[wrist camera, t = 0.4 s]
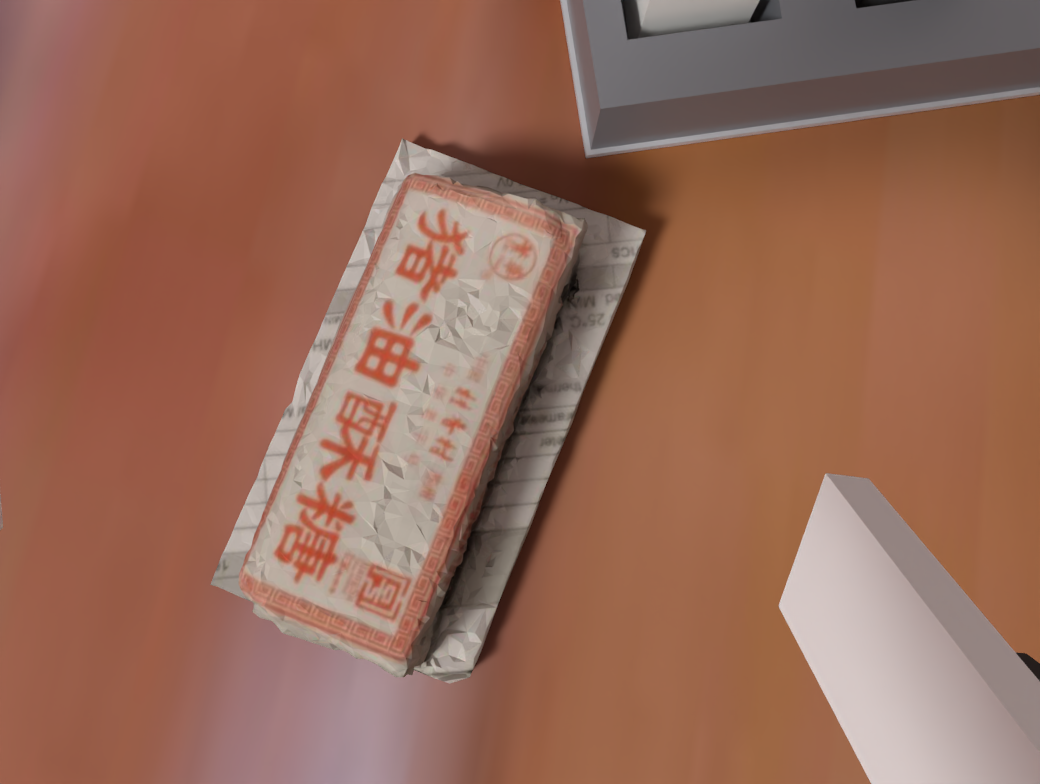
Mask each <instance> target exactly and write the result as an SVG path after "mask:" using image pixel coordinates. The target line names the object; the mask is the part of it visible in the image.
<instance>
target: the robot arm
mask: <svg viewBox="0 0 1040 784" xmlns="http://www.w3.org/2000/svg"><path fill="white" fill-rule="evenodd" d="M2 528H3V523H2V509H1V496H0V530H1V529H2ZM779 608H780V610H781V612H782V614H783V616H784V618H785V620H786V622H787V624H788V625H789V627H790V629H791V631H792V633H793V635H794V637H795V639H796V641H797V643H798V645H799V646H800V648H801V650H802V652H803V654H804V656H805V658H806V660H807V662H808V664H809V666H810V667H811V669H812V671H813V673H814V675H815V677H816V679H817V681H818V683H819V685H820V687H821V689H822V690H823V692H824V694H825V696H826V698H827V700H828V702H829V704H830V706H831V708H832V710H833V711H834V713H835V715H836V717H837V719H838V721H839V723H840V725H841V727H842V729H843V731H844V732H845V734H846V736H847V738H848V740H849V742H850V744H851V746H852V748H853V750H854V752H855V753H856V755H857V757H858V759H859V761H860V763H861V765H862V767H863V769H864V771H865V773H866V774H867V776H868V778H869V780H870V782H871V784H1040V664H1039V663H1038V662H1037V661H1035V660H1034V659H1033V658H1031V657H1030V656H1029V655H1028V654H1025V653H1015V651H1014V650H1013V649H1012V648H1011V647H1010V645H1009V644H1008V643H1007V642H1006V641H1005V640H1004V638H1003V637H1002V636H1001V635H1000V634H999V632H998V631H997V630H996V629H995V628H994V627H993V625H992V624H991V623H990V622H989V621H988V619H987V618H986V617H985V616H984V615H983V614H982V612H981V611H980V610H979V609H978V608H977V606H976V605H975V604H974V603H973V602H972V600H971V599H970V598H969V597H968V596H967V595H966V593H965V592H964V591H963V590H962V589H961V587H960V586H959V585H958V584H957V583H956V582H955V580H954V579H953V578H952V577H951V576H950V574H949V573H948V572H947V571H946V570H945V569H944V567H943V566H942V565H941V564H940V563H939V561H938V560H937V559H936V558H935V557H934V555H933V554H932V553H931V552H930V551H929V550H928V548H927V547H926V546H925V545H924V544H923V542H922V541H921V540H920V539H919V538H918V537H917V535H916V534H915V533H914V532H913V531H912V529H911V528H910V527H909V526H908V525H907V524H906V522H905V521H904V520H903V519H902V518H901V516H900V515H899V514H898V513H897V512H896V510H895V509H894V508H893V507H892V506H891V505H890V503H889V502H888V501H887V500H886V499H885V497H884V496H883V495H882V494H881V493H880V492H879V490H878V489H877V488H876V487H875V486H874V484H873V483H872V482H871V481H870V480H869V479H868V478H860V477H852V476H844V475H836V474H828V473H826V474H825V477H824V479H823V482H822V485H821V488H820V491H819V494H818V496H817V499H816V502H815V505H814V508H813V510H812V513H811V516H810V519H809V522H808V524H807V527H806V530H805V533H804V536H803V539H802V541H801V544H800V547H799V550H798V553H797V555H796V558H795V561H794V564H793V567H792V569H791V572H790V575H789V578H788V581H787V584H786V586H785V589H784V592H783V595H782V598H781V600H780V603H779Z"/></svg>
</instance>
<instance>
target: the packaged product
mask: <svg viewBox="0 0 1040 784" xmlns="http://www.w3.org/2000/svg"><path fill="white" fill-rule="evenodd" d="M645 233H646V230H643V229H640V228H637V227H635V226H632V225H630V224H628V223H625V222H623V221H620V220H618V219H615V218H613V217H610V216H608V215H605V214H601V213H598V212H595V211H592V210H589V209H587V208H585V207H582V206H580V205H578V204H576V203H573V202H570V201H567V200H564V199H562V198H559V197H556V196H553V195H550V194H548V193H545V192H542V191H539V190H536V189H533V188H530V187H527V186H525V185H522V184H519V183H517V182H514V181H512V180H510V179H507V178H505V177H502V176H499V175H496V174H494V173H491V172H489V171H486V170H484V169H481V168H479V167H476V166H474V165H471V164H469V163H466V162H463V161H461V160H458V159H455V158H452V157H450V156H447V155H444V154H442V153H439V152H437V151H434V150H432V149H425V148H423V147H421V146H418V145H416V144H413V143H411V142H409V141H406V140H404V139H403V138H402V140H401V143H400V146H399V148H398V151H397V153H396V155H395V158H394V160H393V162H392V164H391V167H390V169H389V171H388V174H387V176H386V178H385V179H384V181H383V183H382V185H381V187H380V189H379V192H378V194H377V197H376V199H375V201H374V204H373V206H372V208H371V211H370V214H369V217H368V219H367V223H366V226H365V228H364V230H363V232H362V234H361V236H360V238H359V241H358V243H357V245H356V247H355V249H354V252H353V254H352V256H351V258H350V261H349V263H348V265H347V267H346V270H345V272H344V274H343V277H342V279H341V281H340V283H339V286H338V288H337V290H336V293H335V295H334V297H333V299H332V302H331V304H330V306H329V309H328V311H327V313H326V316H325V318H324V320H323V323H322V325H321V328H320V330H319V332H318V335H317V337H316V339H315V341H314V343H313V345H312V347H311V349H310V352H309V354H308V356H307V359H306V361H305V363H304V366H303V368H302V370H301V373H300V375H299V379H298V382H297V385H296V389H295V393H294V398H293V402H292V403H291V404H290V405H289V406H288V407H287V408H286V409H285V411H284V414H283V416H282V419H281V421H280V423H279V426H278V428H277V430H276V433H275V435H274V437H273V439H272V441H271V443H270V445H269V448H268V450H267V453H266V455H265V458H264V460H263V463H262V465H261V468H260V471H259V474H258V477H257V479H256V481H255V483H254V485H253V487H252V489H251V491H250V493H249V496H248V498H247V500H246V502H245V504H244V507H243V509H242V511H241V513H240V516H239V518H238V520H237V522H236V525H235V527H234V530H233V532H232V535H231V537H230V539H229V542H228V544H227V546H226V548H225V550H224V552H223V554H222V557H221V559H220V562H219V564H218V567H217V569H216V572H215V574H214V577H213V580H212V582H211V585H214V586H217V587H220V588H222V589H224V590H226V591H229V592H231V593H233V594H235V595H237V596H240V597H242V598H244V599H247V600H249V601H251V602H253V603H254V609H253V612H254V613H255V614H256V615H257V616H258V617H259V618H263V619H266V620H270V621H272V622H274V623H275V624H276V626H277V627H278V628H279V629H280V631H281V632H282V633H284V634H287V635H290V636H294V637H297V638H300V639H303V640H306V641H309V642H312V643H315V644H318V645H321V646H324V647H327V648H330V649H333V650H343V651H346V652H348V653H349V654H351V655H352V656H353V657H355V658H356V659H366V660H368V661H371V662H373V663H375V664H377V665H379V666H380V667H381V668H382V669H384V670H385V671H387V672H388V673H390V674H392V675H393V676H395V677H405V676H406V675H407V674H409V675H412V674H413V670H415V671H418V672H420V673H423V674H425V675H428V676H430V677H433V678H436V679H439V680H442V681H444V682H447V683H453V682H456V681H459V680H462V679H466V678H469V677H470V675H471V673H472V671H473V668H474V666H475V664H476V662H477V659H478V657H479V655H480V653H481V650H482V647H483V645H484V642H485V639H486V636H487V634H488V631H489V628H490V625H491V622H492V620H493V617H494V614H495V611H496V609H497V606H498V603H499V600H500V598H501V596H502V593H503V591H504V588H505V586H506V584H507V581H508V579H509V576H510V574H511V572H512V569H513V567H514V564H515V562H516V560H517V557H518V555H519V553H520V550H521V548H522V545H523V543H524V541H525V538H526V536H527V533H528V531H529V529H530V526H531V524H532V521H533V519H534V516H535V513H536V510H537V507H538V505H539V502H540V499H541V496H542V494H543V491H544V488H545V486H546V483H547V481H548V479H549V476H550V474H551V471H552V469H553V467H554V464H555V462H556V460H557V457H558V455H559V453H560V450H561V448H562V446H563V443H564V441H565V439H566V436H567V434H568V432H569V429H570V427H571V425H572V422H573V419H574V416H575V414H576V411H577V408H578V405H579V402H580V399H581V396H582V394H583V391H584V388H585V386H586V383H587V381H588V379H589V376H590V374H591V371H592V369H593V367H594V364H595V362H596V359H597V357H598V354H599V352H600V350H601V347H602V345H603V342H604V340H605V337H606V335H607V333H608V330H609V328H610V325H611V323H612V320H613V318H614V316H615V313H616V311H617V308H618V306H619V303H620V301H621V299H622V296H623V294H624V291H625V289H626V286H627V284H628V281H629V279H630V276H631V273H632V270H633V267H634V264H635V262H636V259H637V256H638V253H639V250H640V247H641V245H642V242H643V239H644V236H645Z"/></svg>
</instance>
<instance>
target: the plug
mask: <svg viewBox="0 0 1040 784" xmlns="http://www.w3.org/2000/svg"><path fill="white" fill-rule="evenodd" d="M759 1H760V0H623V6H624V12H625V18H626V24H627V30H628V36H629V39H637V38H644V37H651V36H659V35H666V34H673V33H680V32H688V31H695V30H702V29H710V28H717V27H724V26H732V25H739V24H746V23H748V22H749V20H750V18H751V16H752V14H753V12H754V10H755V9H756V7H757V5H758V3H759Z"/></svg>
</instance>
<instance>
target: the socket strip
mask: <svg viewBox="0 0 1040 784" xmlns="http://www.w3.org/2000/svg"><path fill="white" fill-rule="evenodd" d="M560 2H561V8H562V14H563V20H564V26H565V33H566V39H567V45H568V51H569V58H570V64H571V70H572V76H573V82H574V89H575V95H576V101H577V107H578V113H579V120H580V126H581V132H582V138H583V145H584V151H585V157H586V158H592V157H599V156H606V155H614V154H621V153H628V152H635V151H642V150H649V149H656V148H663V147H671V146H678V145H685V144H692V143H699V142H706V141H713V140H721V139H728V138H735V137H742V136H749V135H756V134H763V133H771V132H778V131H785V130H792V129H799V128H806V127H813V126H820V125H828V124H835V123H842V122H849V121H856V120H863V119H870V118H878V117H885V116H892V115H899V114H906V113H913V112H920V111H927V110H935V109H942V108H949V107H956V106H963V105H970V104H977V103H985V102H992V101H999V100H1006V99H1013V98H1020V97H1027V96H1035V95H1040V0H914V1H907V2H900V3H892V4H885V5H878V6H870V7H863V8H856V4H855V0H760V1H759V3H758V5H757V7H756V9H755V10H754V12H753V14H752V16H751V18H750V20H749V22H748V23H746V24H739V25H732V26H724V27H717V28H710V29H702V30H695V31H688V32H680V33H673V34H666V35H659V36H651V37H644V38H637V39H629V36H628V30H627V24H626V18H625V12H624V6H623V0H560Z"/></svg>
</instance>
